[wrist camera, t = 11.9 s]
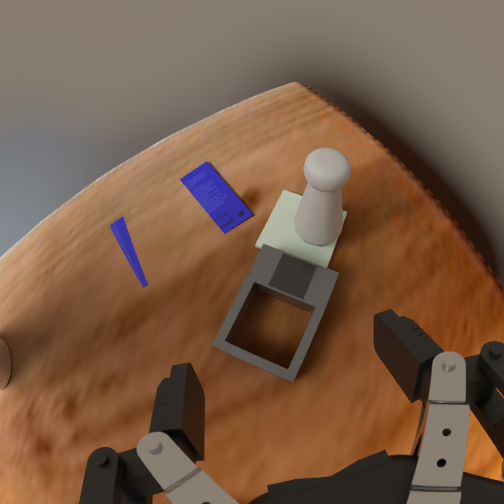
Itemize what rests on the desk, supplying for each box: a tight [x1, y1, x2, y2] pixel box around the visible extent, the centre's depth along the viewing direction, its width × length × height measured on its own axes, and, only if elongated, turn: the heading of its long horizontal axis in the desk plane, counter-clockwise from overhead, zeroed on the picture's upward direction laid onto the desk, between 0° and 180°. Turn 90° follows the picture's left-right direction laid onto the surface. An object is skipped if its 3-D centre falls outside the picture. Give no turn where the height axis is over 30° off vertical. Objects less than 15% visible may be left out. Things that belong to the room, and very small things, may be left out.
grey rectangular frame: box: [212, 244, 339, 382], centre depth 31 cm, size 9×12×3 cm
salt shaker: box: [294, 148, 351, 247], centre depth 30 cm, size 6×6×13 cm
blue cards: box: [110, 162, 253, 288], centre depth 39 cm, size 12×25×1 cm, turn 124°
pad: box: [255, 190, 347, 268], centre depth 37 cm, size 9×9×1 cm
